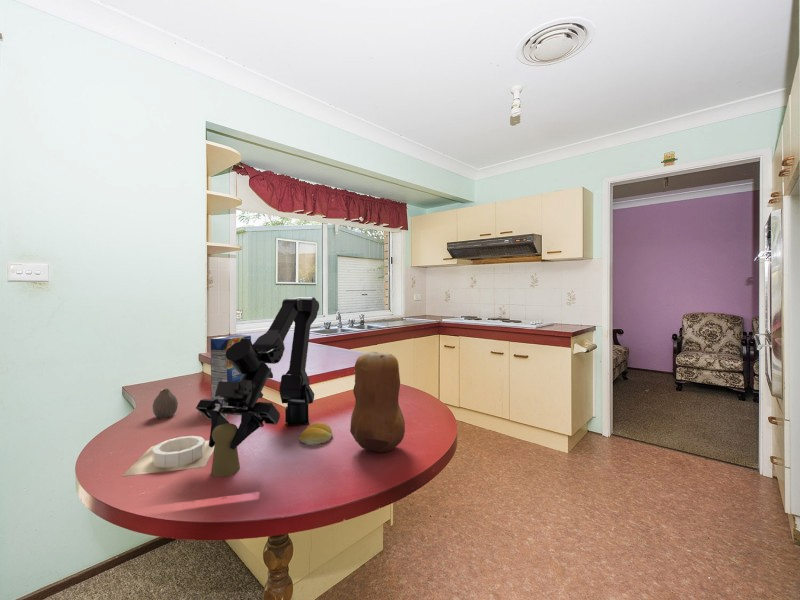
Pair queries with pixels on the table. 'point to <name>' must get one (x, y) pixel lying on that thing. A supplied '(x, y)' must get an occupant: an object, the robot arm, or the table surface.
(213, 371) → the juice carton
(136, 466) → the oak board
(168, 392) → the brown fig
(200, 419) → the table surface
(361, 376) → the butternut squash
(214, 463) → the cork
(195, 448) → the cream collar
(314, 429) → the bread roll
